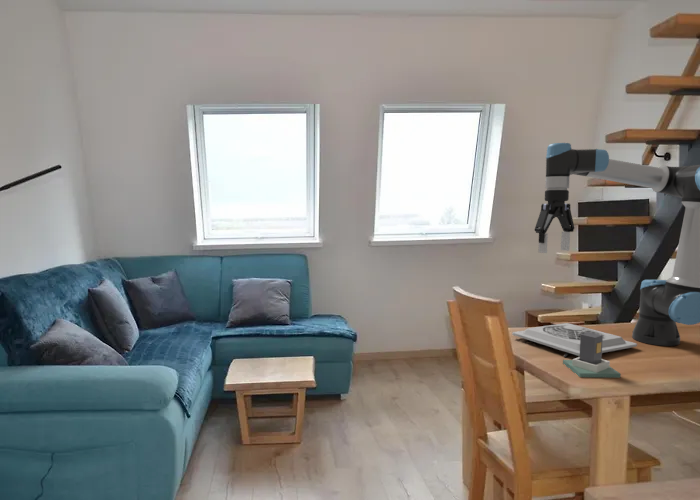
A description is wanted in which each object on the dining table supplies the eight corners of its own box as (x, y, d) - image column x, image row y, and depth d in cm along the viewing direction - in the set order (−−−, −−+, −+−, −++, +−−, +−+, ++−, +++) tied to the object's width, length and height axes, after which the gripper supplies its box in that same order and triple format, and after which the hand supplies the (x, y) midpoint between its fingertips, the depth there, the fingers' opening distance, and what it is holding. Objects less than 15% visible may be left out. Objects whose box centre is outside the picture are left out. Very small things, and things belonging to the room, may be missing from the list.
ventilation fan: (565, 314, 195) (639, 332, 168) (564, 330, 195) (637, 350, 169) (511, 321, 181) (582, 341, 154) (511, 338, 182) (581, 360, 155)
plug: (586, 362, 151) (588, 332, 150) (601, 367, 148) (603, 335, 147) (579, 365, 149) (580, 334, 148) (594, 370, 145) (595, 337, 144)
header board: (600, 363, 154) (601, 354, 154) (620, 377, 142) (621, 367, 142) (562, 363, 154) (563, 353, 154) (579, 377, 142) (580, 366, 142)
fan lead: (569, 350, 167) (569, 348, 167) (571, 351, 167) (571, 348, 167) (563, 357, 160) (563, 354, 160) (565, 357, 160) (565, 355, 160)
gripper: (566, 190, 174) (563, 248, 176) (525, 189, 159) (522, 252, 161) (587, 189, 167) (583, 250, 170) (545, 188, 153) (542, 254, 155)
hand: (554, 251), depth 166 cm, fingers open, 13 cm apart
